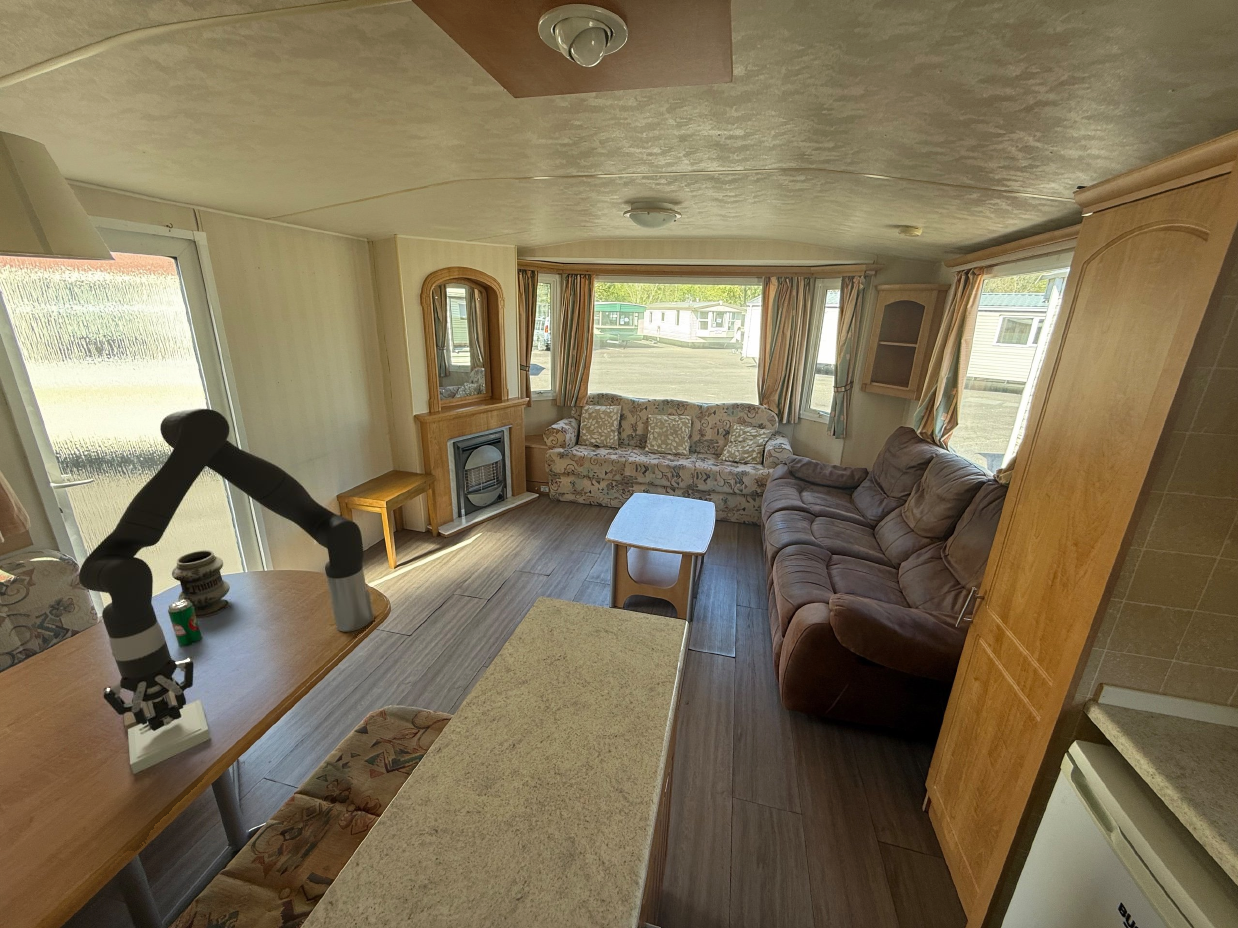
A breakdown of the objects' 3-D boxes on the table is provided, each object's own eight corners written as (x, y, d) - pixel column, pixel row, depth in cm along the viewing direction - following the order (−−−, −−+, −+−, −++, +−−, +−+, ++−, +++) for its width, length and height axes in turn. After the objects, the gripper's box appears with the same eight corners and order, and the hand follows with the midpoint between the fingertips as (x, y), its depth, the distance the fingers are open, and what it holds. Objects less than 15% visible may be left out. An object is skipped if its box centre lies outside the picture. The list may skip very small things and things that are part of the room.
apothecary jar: (212, 620, 145) (197, 566, 140) (172, 620, 145) (155, 566, 140) (243, 598, 156) (230, 547, 151) (206, 597, 157) (191, 546, 151)
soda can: (174, 644, 135) (162, 606, 131) (195, 633, 139) (184, 596, 136) (185, 648, 133) (173, 610, 129) (206, 638, 137) (195, 600, 134)
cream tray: (202, 707, 113) (199, 698, 112) (210, 738, 105) (207, 728, 104) (131, 738, 105) (127, 728, 104) (133, 773, 97) (130, 763, 96)
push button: (146, 740, 100) (132, 700, 97) (135, 730, 102) (121, 691, 99) (186, 718, 105) (174, 679, 102) (175, 709, 108) (163, 671, 105)
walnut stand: (177, 689, 119) (175, 683, 118) (181, 710, 112) (179, 703, 112) (126, 710, 112) (123, 703, 112) (127, 732, 106) (124, 725, 106)
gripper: (184, 623, 106) (204, 687, 111) (88, 654, 96) (115, 723, 101) (188, 638, 101) (209, 705, 106) (88, 673, 91) (115, 745, 96)
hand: (162, 714), depth 103 cm, fingers closed on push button, 5 cm apart
